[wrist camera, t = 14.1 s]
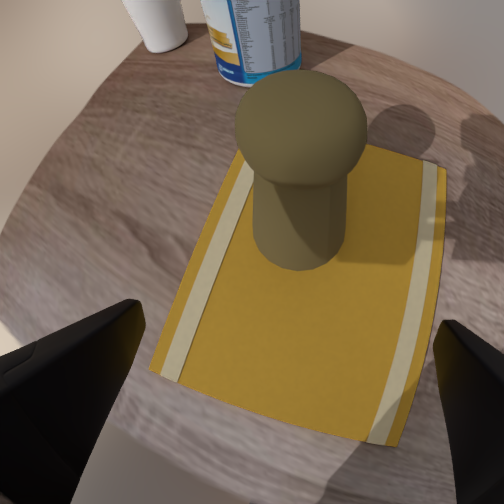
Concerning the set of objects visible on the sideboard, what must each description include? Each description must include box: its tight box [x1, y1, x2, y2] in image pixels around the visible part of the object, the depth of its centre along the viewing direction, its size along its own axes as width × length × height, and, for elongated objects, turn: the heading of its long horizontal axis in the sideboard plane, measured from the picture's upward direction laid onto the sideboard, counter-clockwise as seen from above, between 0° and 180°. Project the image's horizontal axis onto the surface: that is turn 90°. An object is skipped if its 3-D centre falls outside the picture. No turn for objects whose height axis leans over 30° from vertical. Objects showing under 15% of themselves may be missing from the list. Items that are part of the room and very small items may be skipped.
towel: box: [149, 144, 446, 447], centre depth 19 cm, size 20×16×1 cm
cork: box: [235, 69, 367, 271], centre depth 15 cm, size 6×6×11 cm
